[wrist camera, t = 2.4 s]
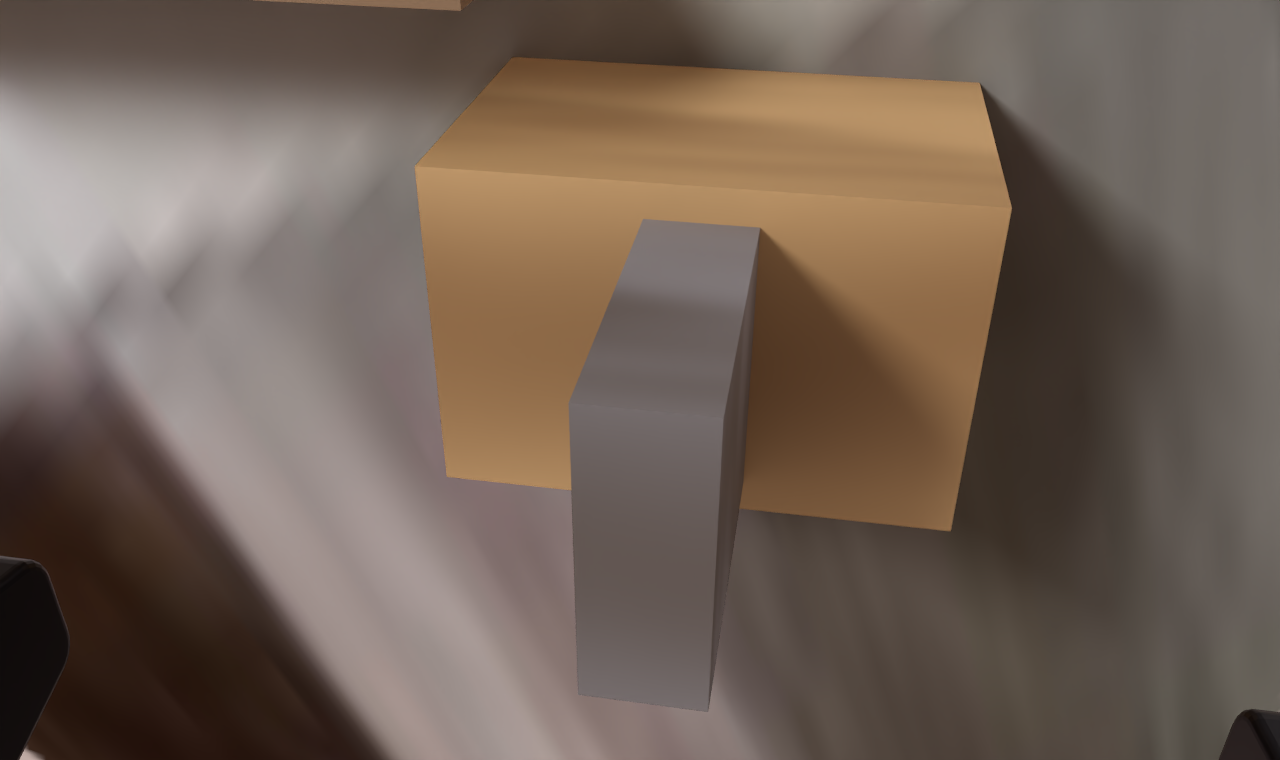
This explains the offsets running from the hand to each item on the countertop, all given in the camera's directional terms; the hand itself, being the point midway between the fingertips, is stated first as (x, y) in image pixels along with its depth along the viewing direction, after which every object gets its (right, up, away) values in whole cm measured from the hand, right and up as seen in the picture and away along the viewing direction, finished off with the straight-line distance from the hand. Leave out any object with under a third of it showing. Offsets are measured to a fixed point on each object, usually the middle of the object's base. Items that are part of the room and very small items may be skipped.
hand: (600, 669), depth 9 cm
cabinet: (+2, +4, +7) cm, 9 cm away
